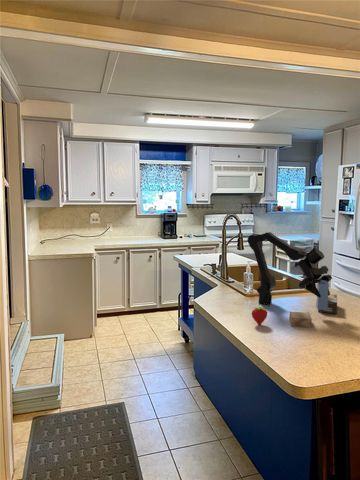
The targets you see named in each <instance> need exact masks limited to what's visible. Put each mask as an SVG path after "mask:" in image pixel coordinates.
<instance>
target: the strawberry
mask: <svg viewBox="0 0 360 480" xmlns="http://www.w3.org/2000/svg"><path fill="white" fill-rule="evenodd" d="M251 316H252V319H253V320H254V321H255V322H256V324H257V325H259V326H260V325H262V324H263V323H264V321H265V320H266V319H267V317H268V311H267V310H266V307H262V306H258V307H255V308H254V309H253V310H252V311H251Z"/></svg>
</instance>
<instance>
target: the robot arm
mask: <svg viewBox="0 0 360 480" xmlns="http://www.w3.org/2000/svg"><path fill="white" fill-rule="evenodd" d="M263 241H267V242H268V243H271V244H272V245H273V246H275V247H277V248H278V249H279V250H281V251H283V252H284V253H285V255H286V256H287V257H288V258H289V259H290V260H292V261H295V262H294V268H300V270H301V271H302V277H305V278H303V279H302V280H300V281H299V282H298V287H299V289H300V290H302V289H304V290H307V291H308V292H310V293H311V294H313V295H315V296H316V297H317V296H318V297H319V298H320V297H321V295H320V293H319V291H318V290H317V285H316V284H317V283H318V281H319V282H320V280H325V281H326V282H328V283H329V282H330V281H332V280H333V277H332V275H331V274H328V272H329V268H328V267H327V266H326V265H323V266H321V267H319V268H317V267H314V266H313V265H316V264H318V263H319V262H321V261H322V260H323V259H325V255H324V253H323V252H322V251H321V250H320V249H318V248H317V247H313V248H312V249H311V250H310V251H309V252H307V251H304V250H303V249H302V248H299V247H297V246H294V245H291V244H289V243H288V242H286V241H284V240H282V239H281V238H279V237H278V236H276V235H275V234H273V233H272V232H270V231H267V232H265V233H261V234H259V233H257V234H256V233H255V234H250V235H248V237H247V244H248V245H249V247H250V249H251V250H252V252H253V253H254V256H255V259H256V264H257V266H258V269H259V275H260V280H259V281H260V286H259V287H258V288H257V289H256V292H257V294H258V305H269V306H270V305H271V304H272V297H273V296H272V292H273V290H274V289H275V288H276V286H277V281H276V277H275V276H274V275H271V273H270V269H269V268H268V265H267V261H266V257H265V254H264V250H263V245H264V243H263ZM298 260H299V261H298ZM330 294H331V291H330V290H329V291H328V296H329V295H330Z"/></svg>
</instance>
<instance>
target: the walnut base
mask: <svg viewBox="0 0 360 480" xmlns="http://www.w3.org/2000/svg"><path fill="white" fill-rule="evenodd" d="M289 324H290V326H291V327H300V328H312V316H311V314H310V312H302V311H301V312H300V311H289Z"/></svg>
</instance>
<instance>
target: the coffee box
mask: <svg viewBox="0 0 360 480" xmlns="http://www.w3.org/2000/svg"><path fill="white" fill-rule="evenodd" d="M317 311H318V312H319V313H323V314H324V313H325V314H334V315H337V311H338V294H335V293H330V295H329V296H328V307H327V310H317Z"/></svg>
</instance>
